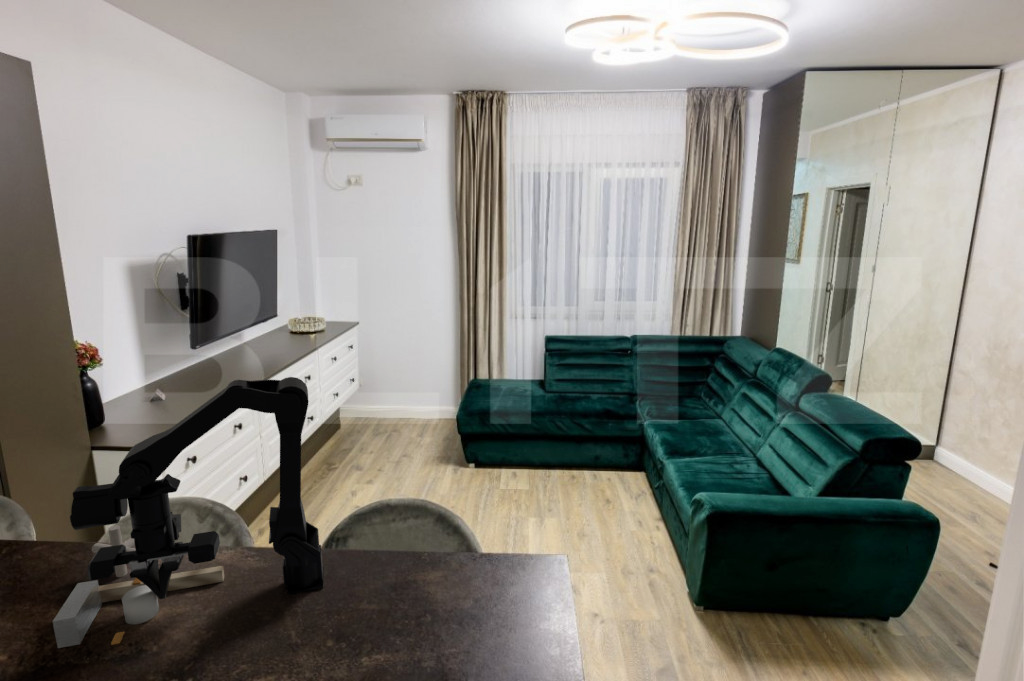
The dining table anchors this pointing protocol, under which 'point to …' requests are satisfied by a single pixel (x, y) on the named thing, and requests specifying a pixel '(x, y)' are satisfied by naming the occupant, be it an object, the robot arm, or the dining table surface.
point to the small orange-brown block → (117, 638)
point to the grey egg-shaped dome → (140, 605)
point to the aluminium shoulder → (77, 614)
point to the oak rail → (176, 582)
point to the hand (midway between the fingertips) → (163, 597)
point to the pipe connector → (116, 540)
